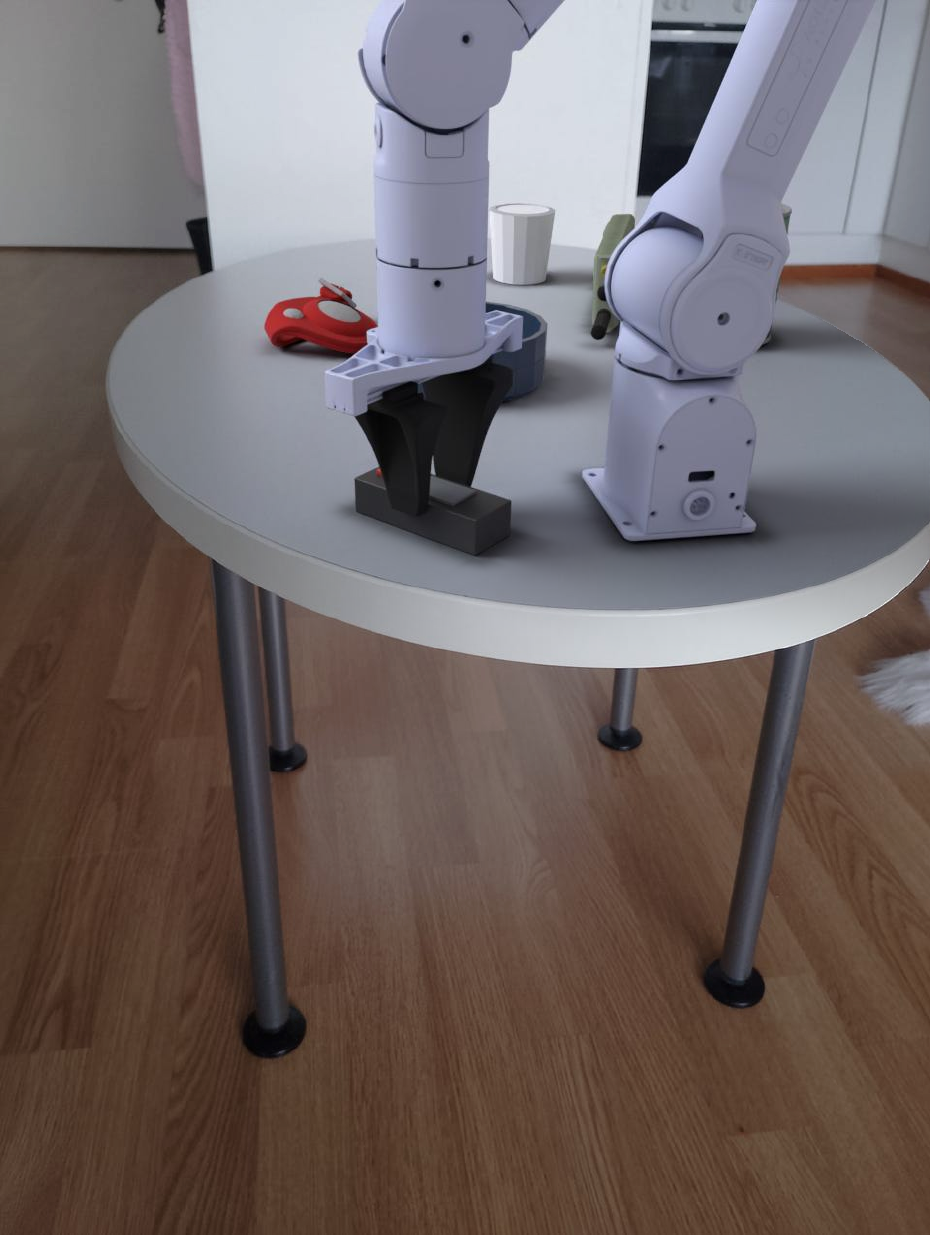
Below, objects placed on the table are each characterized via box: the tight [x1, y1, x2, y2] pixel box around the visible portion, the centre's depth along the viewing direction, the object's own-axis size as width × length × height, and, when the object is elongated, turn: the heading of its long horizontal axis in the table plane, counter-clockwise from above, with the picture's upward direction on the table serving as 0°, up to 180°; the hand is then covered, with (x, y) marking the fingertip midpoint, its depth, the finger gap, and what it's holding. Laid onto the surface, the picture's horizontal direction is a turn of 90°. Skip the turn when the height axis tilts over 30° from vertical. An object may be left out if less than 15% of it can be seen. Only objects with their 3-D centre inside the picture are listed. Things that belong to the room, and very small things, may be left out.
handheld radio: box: [590, 213, 636, 341], centre depth 100 cm, size 7×3×25 cm
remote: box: [354, 466, 513, 556], centre depth 61 cm, size 9×3×2 cm, turn 53°
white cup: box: [488, 203, 556, 286], centre depth 110 cm, size 7×7×7 cm
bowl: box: [418, 300, 549, 403], centre depth 83 cm, size 13×13×4 cm
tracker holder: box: [263, 277, 378, 354], centre depth 92 cm, size 12×4×10 cm
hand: (431, 498), depth 61 cm, fingers open, 4 cm apart
